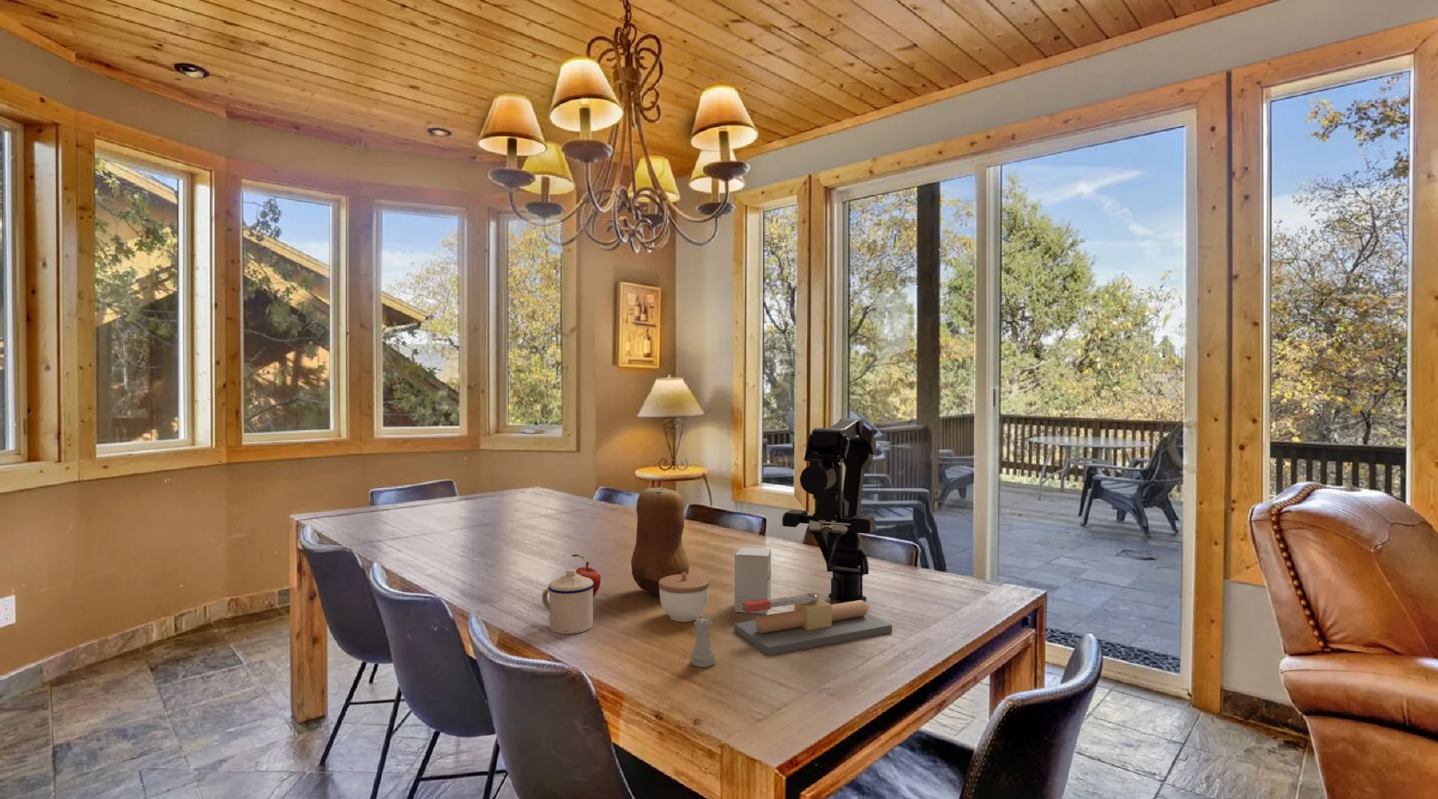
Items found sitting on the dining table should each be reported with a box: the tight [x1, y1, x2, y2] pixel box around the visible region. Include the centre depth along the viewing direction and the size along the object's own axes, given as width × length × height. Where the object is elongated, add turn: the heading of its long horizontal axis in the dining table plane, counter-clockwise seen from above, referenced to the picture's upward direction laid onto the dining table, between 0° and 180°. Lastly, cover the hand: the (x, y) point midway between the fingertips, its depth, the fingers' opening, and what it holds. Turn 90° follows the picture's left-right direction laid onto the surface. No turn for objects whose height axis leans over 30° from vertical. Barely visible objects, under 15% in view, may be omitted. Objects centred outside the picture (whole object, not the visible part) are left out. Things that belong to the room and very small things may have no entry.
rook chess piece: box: [690, 615, 716, 668], centre depth 119 cm, size 4×4×8 cm
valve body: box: [733, 598, 893, 657], centre depth 135 cm, size 28×14×6 cm, turn 115°
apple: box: [571, 553, 602, 598], centre depth 157 cm, size 8×7×10 cm
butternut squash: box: [630, 487, 690, 597], centre depth 160 cm, size 14×13×25 cm
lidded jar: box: [659, 573, 710, 623], centre depth 144 cm, size 11×11×9 cm
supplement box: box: [734, 547, 772, 615], centre depth 149 cm, size 7×7×13 cm
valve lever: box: [742, 592, 820, 614], centre depth 132 cm, size 16×2×1 cm, turn 113°
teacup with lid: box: [541, 568, 594, 635], centre depth 138 cm, size 12×9×12 cm
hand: (828, 562), depth 142 cm, fingers closed
